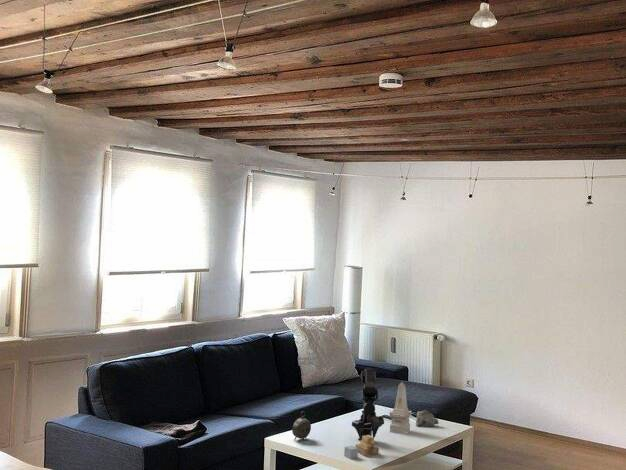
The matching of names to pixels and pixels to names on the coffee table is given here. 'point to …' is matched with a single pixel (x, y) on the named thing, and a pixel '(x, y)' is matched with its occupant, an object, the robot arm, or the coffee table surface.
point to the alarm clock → (301, 428)
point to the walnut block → (367, 450)
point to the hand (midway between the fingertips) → (367, 438)
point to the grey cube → (351, 452)
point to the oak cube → (367, 441)
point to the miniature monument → (400, 413)
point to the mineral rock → (425, 419)
